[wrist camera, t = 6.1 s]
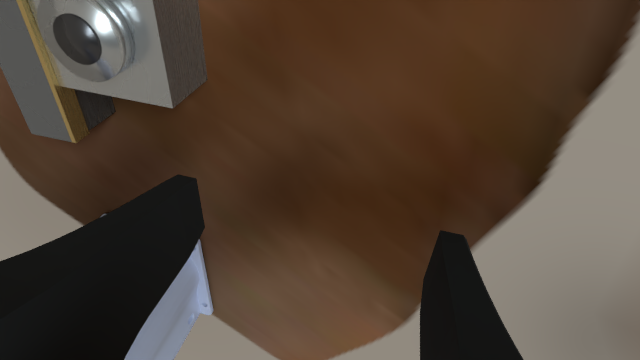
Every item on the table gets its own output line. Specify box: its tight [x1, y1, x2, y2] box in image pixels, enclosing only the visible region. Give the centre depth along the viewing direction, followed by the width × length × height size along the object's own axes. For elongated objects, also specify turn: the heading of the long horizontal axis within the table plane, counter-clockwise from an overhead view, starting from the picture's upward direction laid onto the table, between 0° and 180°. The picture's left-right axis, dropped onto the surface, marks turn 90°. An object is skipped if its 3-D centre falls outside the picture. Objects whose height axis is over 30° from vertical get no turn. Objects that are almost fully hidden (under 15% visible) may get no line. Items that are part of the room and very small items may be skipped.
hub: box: [28, 0, 207, 108], centre depth 17 cm, size 6×6×5 cm
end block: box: [0, 0, 116, 143], centre depth 19 cm, size 12×5×4 cm, turn 177°
